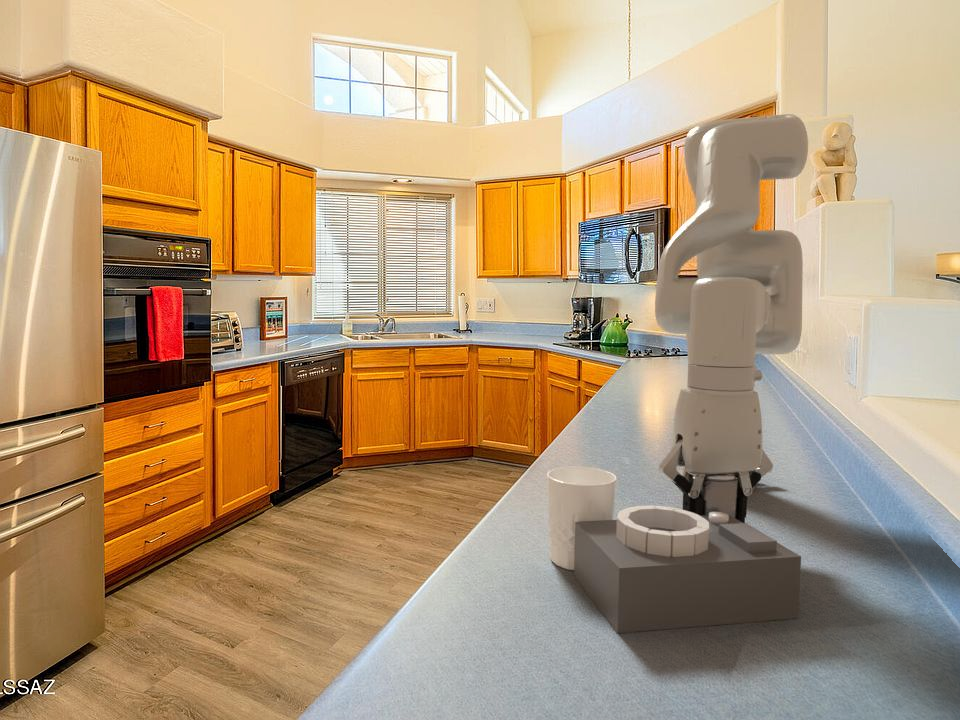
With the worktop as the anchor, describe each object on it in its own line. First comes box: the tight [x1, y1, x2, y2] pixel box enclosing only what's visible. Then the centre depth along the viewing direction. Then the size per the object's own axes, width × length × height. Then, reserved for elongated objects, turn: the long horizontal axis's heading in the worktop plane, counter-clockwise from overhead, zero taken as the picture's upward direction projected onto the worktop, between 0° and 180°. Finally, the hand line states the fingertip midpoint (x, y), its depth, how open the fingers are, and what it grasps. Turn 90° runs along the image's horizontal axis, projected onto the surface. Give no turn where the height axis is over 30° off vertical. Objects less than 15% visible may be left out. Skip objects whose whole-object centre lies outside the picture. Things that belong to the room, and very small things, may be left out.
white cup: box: [546, 466, 618, 571], centre depth 70 cm, size 8×8×10 cm
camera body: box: [573, 504, 802, 634], centre depth 61 cm, size 18×12×8 cm, turn 100°
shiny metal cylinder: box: [699, 473, 738, 519], centre depth 75 cm, size 5×5×9 cm
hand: (713, 523), depth 76 cm, fingers closed on shiny metal cylinder, 5 cm apart
